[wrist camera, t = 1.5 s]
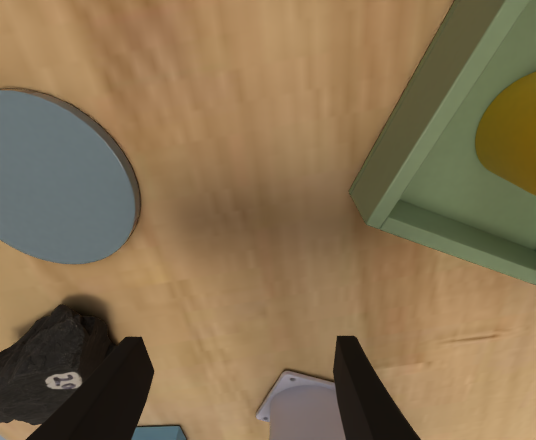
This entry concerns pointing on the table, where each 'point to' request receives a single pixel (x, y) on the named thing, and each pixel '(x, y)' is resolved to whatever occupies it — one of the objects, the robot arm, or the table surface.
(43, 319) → the rock
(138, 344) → the robot arm
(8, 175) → the saucer
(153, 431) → the decorative tile
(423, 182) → the tub
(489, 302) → the table surface
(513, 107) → the pepper
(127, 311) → the table surface
